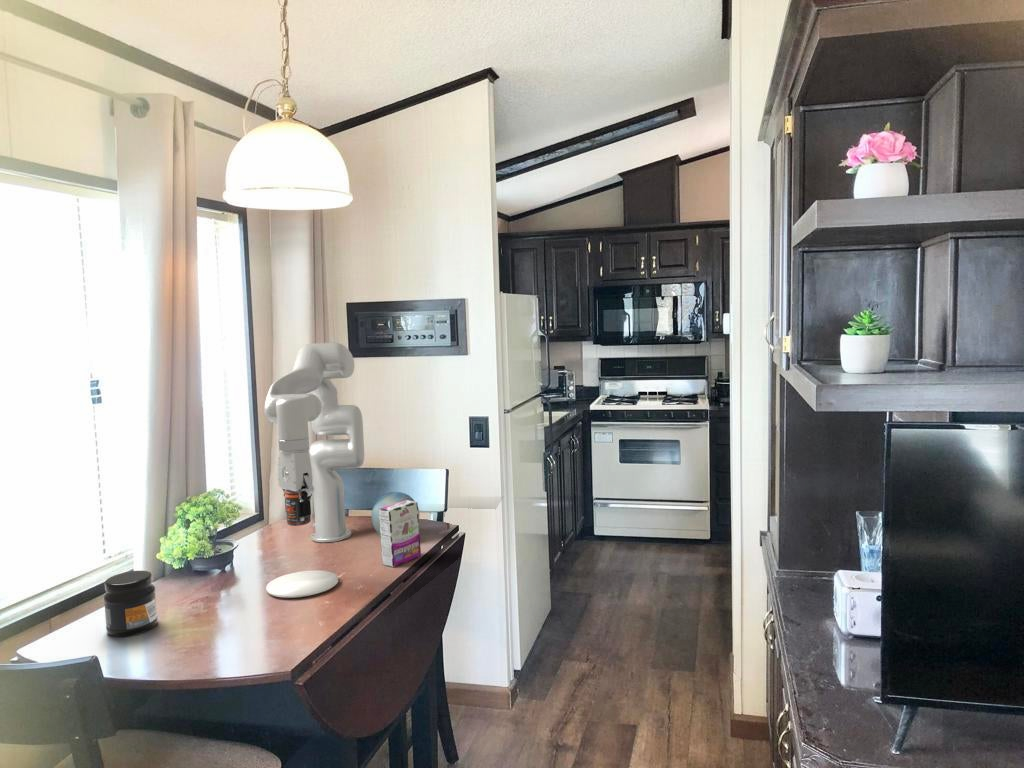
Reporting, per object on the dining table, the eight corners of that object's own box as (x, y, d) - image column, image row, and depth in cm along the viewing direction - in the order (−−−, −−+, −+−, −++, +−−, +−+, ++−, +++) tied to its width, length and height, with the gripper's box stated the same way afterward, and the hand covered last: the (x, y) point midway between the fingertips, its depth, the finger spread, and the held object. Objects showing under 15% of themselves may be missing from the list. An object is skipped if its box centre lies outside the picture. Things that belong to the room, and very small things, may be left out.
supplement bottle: (281, 525, 184) (279, 481, 183) (298, 519, 189) (296, 477, 188) (299, 527, 181) (296, 483, 180) (315, 521, 186) (313, 478, 185)
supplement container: (164, 627, 163) (160, 576, 162) (113, 642, 156) (109, 589, 155) (150, 615, 171) (146, 566, 170) (100, 629, 164) (96, 578, 163)
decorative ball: (426, 532, 232) (423, 486, 231) (413, 546, 217) (410, 498, 216) (381, 532, 234) (379, 487, 233) (365, 546, 219) (363, 498, 218)
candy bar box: (409, 554, 210) (406, 499, 209) (421, 556, 207) (418, 501, 206) (380, 565, 201) (377, 507, 200) (393, 568, 198) (390, 510, 197)
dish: (254, 588, 186) (253, 584, 186) (315, 570, 199) (315, 565, 199) (288, 605, 173) (287, 600, 173) (351, 584, 186) (351, 580, 186)
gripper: (264, 444, 187) (269, 512, 188) (297, 450, 174) (302, 523, 176) (290, 440, 192) (295, 506, 193) (324, 446, 180) (328, 516, 181)
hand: (298, 513), depth 185 cm, fingers closed on supplement bottle, 6 cm apart
